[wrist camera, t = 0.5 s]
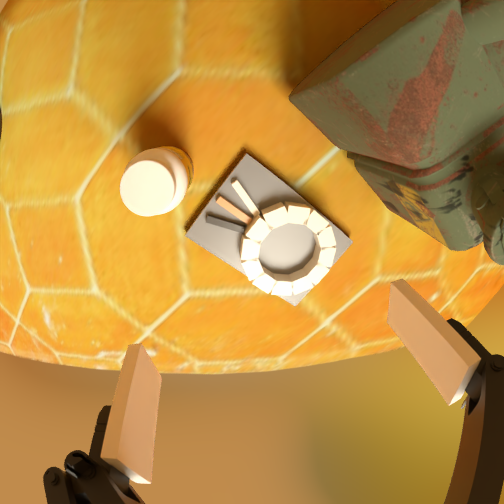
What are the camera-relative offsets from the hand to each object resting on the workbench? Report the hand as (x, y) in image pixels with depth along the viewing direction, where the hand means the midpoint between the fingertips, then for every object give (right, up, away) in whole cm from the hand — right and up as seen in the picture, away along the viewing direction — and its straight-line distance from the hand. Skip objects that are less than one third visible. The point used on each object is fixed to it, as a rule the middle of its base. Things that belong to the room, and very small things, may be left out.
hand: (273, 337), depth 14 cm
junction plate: (+2, +6, +22) cm, 23 cm away
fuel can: (+21, +28, +15) cm, 38 cm away
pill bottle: (-11, +14, +18) cm, 25 cm away
